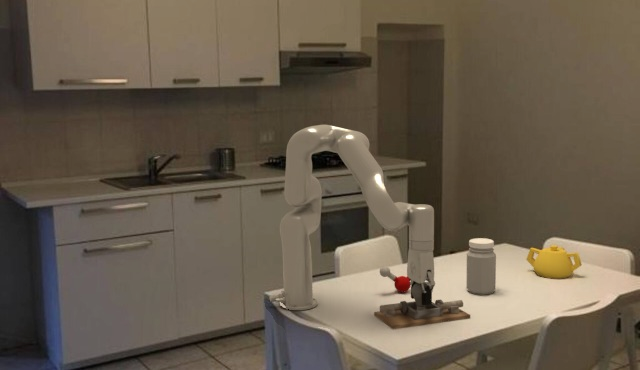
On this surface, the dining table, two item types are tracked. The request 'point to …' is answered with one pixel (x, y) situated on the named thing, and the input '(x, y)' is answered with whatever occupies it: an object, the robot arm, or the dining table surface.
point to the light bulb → (418, 295)
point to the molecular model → (396, 279)
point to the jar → (481, 266)
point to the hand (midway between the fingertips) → (421, 300)
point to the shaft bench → (420, 313)
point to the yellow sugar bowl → (553, 262)
